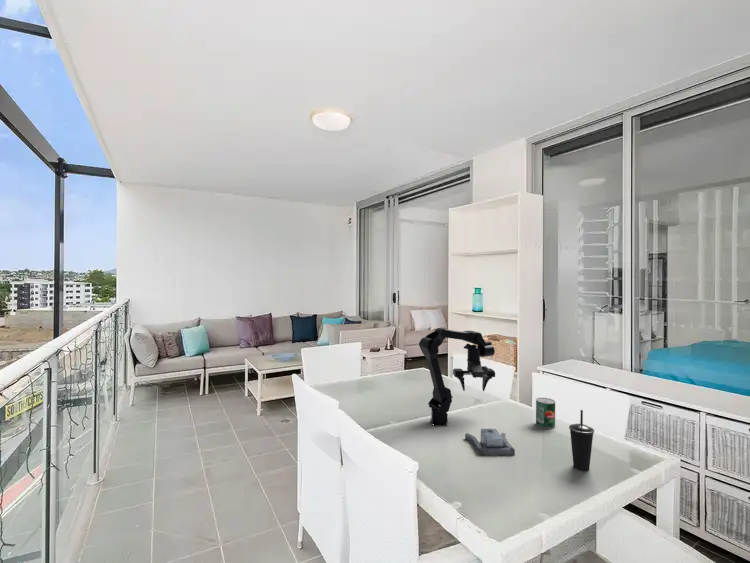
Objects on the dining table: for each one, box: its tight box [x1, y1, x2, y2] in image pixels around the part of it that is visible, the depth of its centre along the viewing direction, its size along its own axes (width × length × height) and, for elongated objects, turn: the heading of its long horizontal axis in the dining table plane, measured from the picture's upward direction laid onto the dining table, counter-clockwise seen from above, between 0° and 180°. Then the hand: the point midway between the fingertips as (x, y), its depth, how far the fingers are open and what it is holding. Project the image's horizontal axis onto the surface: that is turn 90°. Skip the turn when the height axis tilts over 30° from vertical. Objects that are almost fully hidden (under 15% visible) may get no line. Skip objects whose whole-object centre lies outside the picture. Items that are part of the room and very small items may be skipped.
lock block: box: [480, 428, 504, 448], centre depth 147 cm, size 6×9×6 cm, turn 179°
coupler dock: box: [464, 432, 516, 456], centre depth 148 cm, size 17×15×2 cm
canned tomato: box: [535, 397, 556, 429], centre depth 168 cm, size 8×8×11 cm
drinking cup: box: [568, 409, 595, 472], centre depth 131 cm, size 8×8×20 cm
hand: (473, 390), depth 179 cm, fingers open, 9 cm apart
